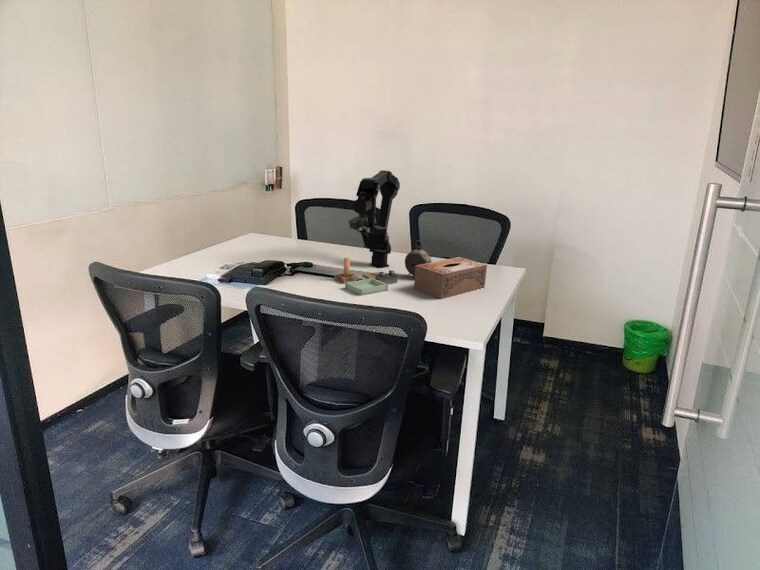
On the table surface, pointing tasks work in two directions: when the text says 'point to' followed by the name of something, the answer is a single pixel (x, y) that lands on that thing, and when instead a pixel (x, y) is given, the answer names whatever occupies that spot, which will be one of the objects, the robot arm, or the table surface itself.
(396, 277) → the grey boxy piece
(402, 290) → the table surface
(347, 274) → the dowel
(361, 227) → the robot arm
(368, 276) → the tan rectangular slab
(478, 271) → the tissue box cover
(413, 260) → the alarm clock
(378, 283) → the tray
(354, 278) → the socket block
